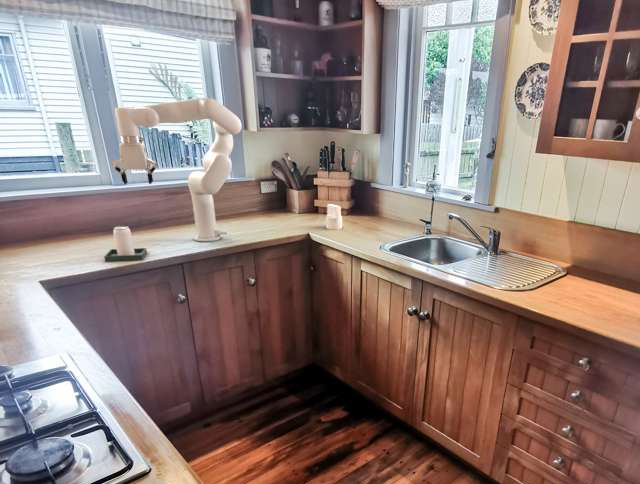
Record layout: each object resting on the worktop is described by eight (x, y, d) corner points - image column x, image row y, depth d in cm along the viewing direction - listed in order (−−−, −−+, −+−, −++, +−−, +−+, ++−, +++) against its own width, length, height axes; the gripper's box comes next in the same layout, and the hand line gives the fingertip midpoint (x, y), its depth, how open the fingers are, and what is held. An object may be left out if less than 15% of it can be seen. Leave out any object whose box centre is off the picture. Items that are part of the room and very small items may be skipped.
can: (128, 258, 194) (122, 229, 189) (114, 256, 195) (108, 228, 190) (138, 254, 199) (133, 226, 194) (125, 252, 200) (119, 225, 195)
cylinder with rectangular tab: (322, 226, 259) (322, 204, 254) (335, 224, 264) (335, 203, 259) (332, 230, 253) (332, 207, 247) (345, 227, 258) (345, 206, 253)
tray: (146, 252, 204) (146, 248, 203) (142, 259, 194) (141, 255, 193) (111, 254, 200) (110, 249, 199) (105, 261, 191) (104, 256, 190)
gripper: (154, 140, 196) (161, 182, 204) (109, 139, 192) (118, 182, 200) (151, 141, 190) (158, 184, 197) (105, 140, 186) (113, 184, 193)
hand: (138, 183), depth 198 cm, fingers open, 9 cm apart
